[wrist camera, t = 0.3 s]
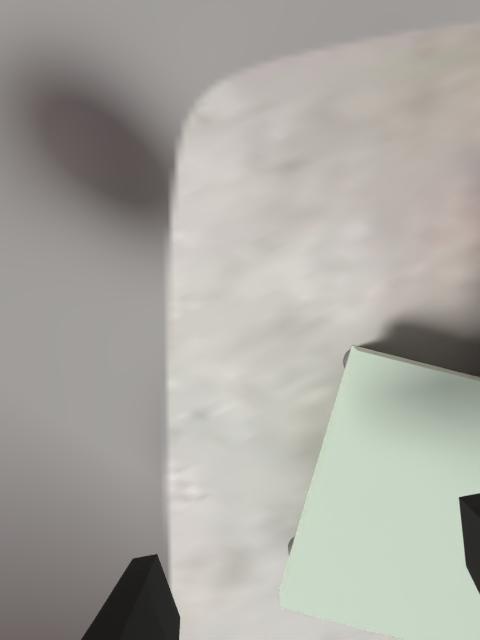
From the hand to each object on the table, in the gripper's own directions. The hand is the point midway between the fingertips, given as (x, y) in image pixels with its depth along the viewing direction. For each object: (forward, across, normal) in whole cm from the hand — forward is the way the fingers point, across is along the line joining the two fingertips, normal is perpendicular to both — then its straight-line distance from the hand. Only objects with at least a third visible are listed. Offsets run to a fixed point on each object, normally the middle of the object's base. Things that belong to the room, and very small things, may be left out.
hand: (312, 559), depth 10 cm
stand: (+10, -6, +7) cm, 13 cm away
